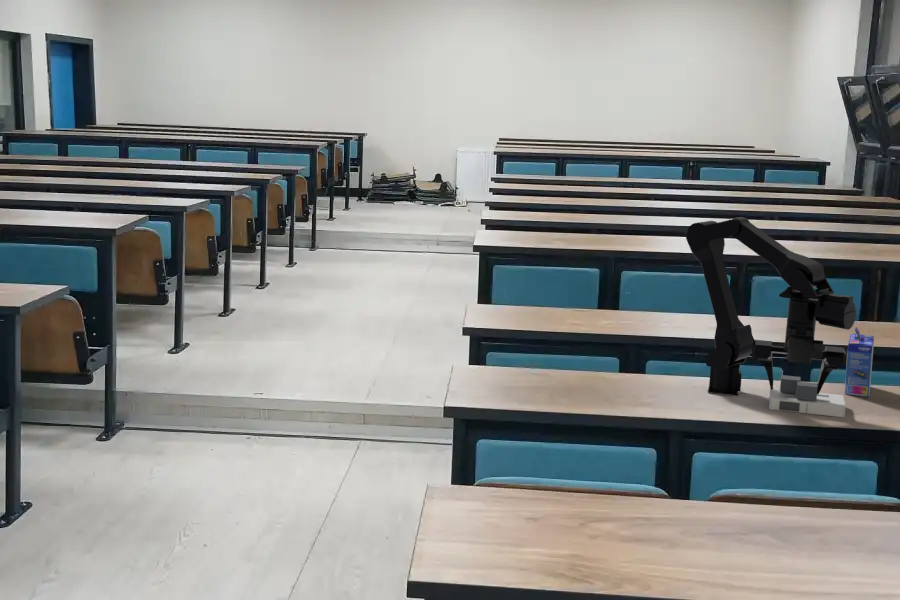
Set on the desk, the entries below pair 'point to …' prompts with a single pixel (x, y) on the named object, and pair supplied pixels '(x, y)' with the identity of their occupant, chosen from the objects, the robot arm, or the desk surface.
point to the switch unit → (807, 403)
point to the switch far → (789, 384)
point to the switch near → (806, 391)
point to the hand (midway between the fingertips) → (794, 391)
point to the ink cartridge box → (859, 364)
